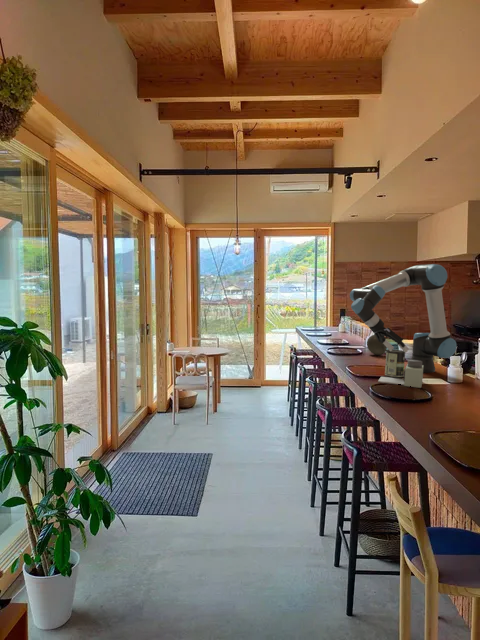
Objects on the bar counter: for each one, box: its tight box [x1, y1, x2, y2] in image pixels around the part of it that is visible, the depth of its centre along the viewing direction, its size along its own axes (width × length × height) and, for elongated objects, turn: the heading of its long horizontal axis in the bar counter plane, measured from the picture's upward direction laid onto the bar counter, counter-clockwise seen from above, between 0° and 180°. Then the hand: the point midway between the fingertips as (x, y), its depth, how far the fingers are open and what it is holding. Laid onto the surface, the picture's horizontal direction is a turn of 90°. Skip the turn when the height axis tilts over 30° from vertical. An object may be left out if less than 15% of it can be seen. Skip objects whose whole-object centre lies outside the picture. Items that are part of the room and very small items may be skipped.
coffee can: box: [384, 349, 406, 378], centre depth 253 cm, size 10×10×14 cm
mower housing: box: [377, 359, 424, 389], centre depth 235 cm, size 21×16×12 cm
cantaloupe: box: [366, 334, 388, 356], centre depth 325 cm, size 14×14×15 cm
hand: (399, 350), depth 242 cm, fingers open, 13 cm apart
